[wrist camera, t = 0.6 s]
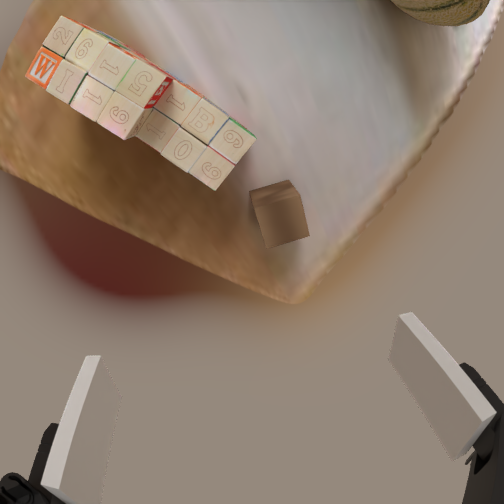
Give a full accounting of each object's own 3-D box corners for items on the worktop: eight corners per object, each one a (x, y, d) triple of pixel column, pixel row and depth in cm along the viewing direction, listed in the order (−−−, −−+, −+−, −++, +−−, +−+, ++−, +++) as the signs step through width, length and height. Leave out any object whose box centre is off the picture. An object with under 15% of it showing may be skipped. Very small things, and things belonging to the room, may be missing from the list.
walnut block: (288, 179, 37) (300, 194, 32) (297, 215, 39) (309, 236, 34) (249, 191, 37) (253, 208, 32) (260, 226, 40) (266, 249, 34)
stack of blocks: (250, 129, 34) (263, 145, 23) (216, 170, 36) (213, 205, 25) (108, 34, 26) (59, 13, 15) (78, 77, 28) (22, 76, 17)
